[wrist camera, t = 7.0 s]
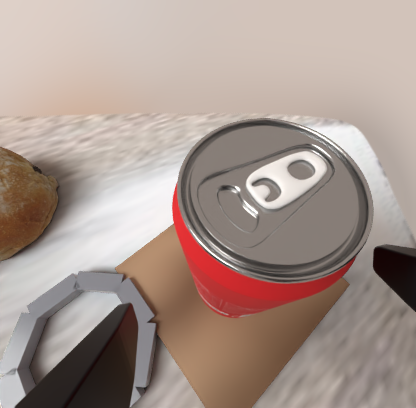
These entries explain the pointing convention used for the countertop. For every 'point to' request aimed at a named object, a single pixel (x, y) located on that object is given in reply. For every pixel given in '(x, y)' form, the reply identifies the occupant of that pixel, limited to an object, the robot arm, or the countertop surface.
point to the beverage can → (268, 215)
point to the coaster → (220, 327)
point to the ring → (48, 305)
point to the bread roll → (23, 202)
